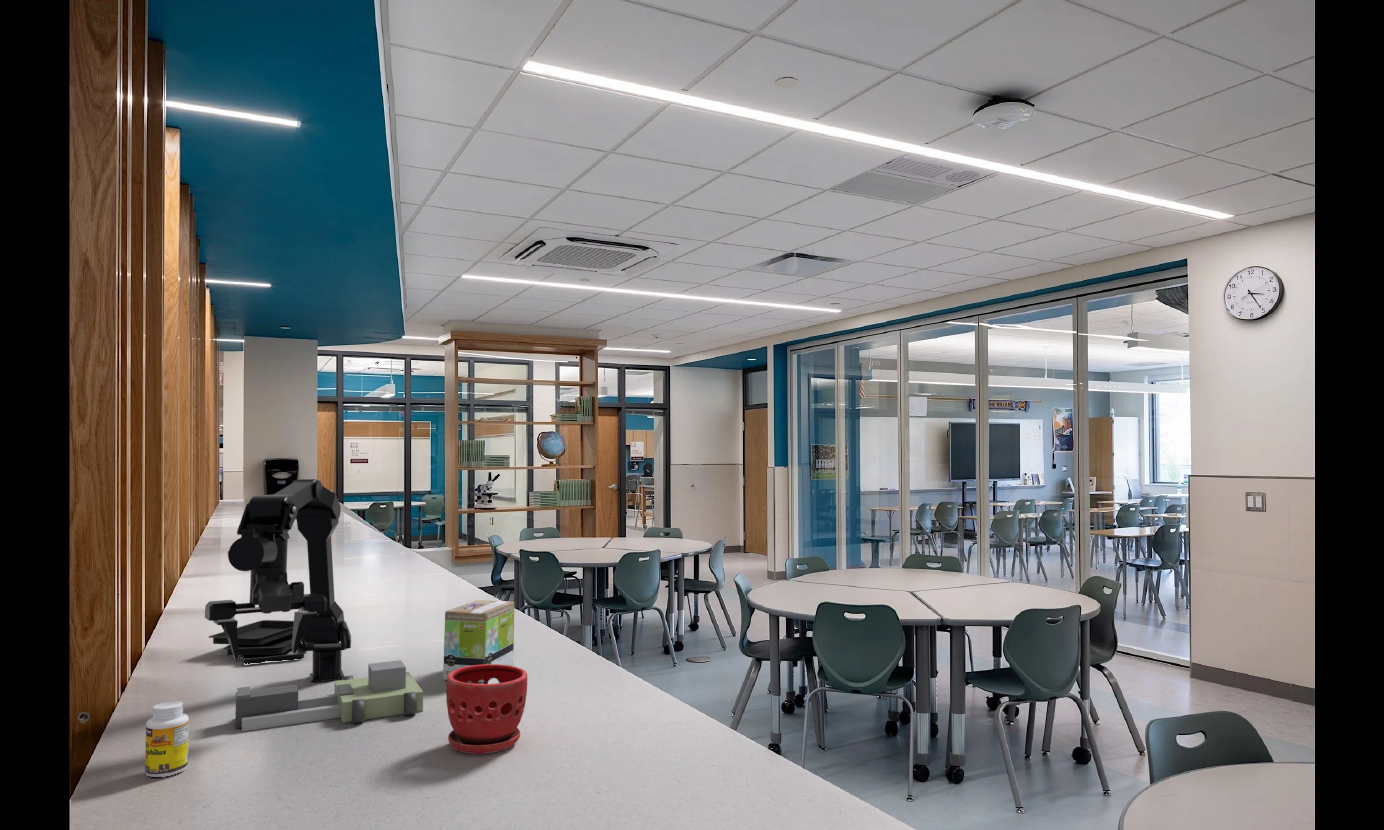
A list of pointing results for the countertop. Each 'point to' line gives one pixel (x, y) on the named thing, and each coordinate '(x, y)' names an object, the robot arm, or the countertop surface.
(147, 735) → the supplement bottle
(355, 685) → the toy flatbed truck
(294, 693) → the dark grey stepped block
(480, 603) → the tea box
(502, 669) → the plant pot
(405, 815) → the countertop surface
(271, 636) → the tray
